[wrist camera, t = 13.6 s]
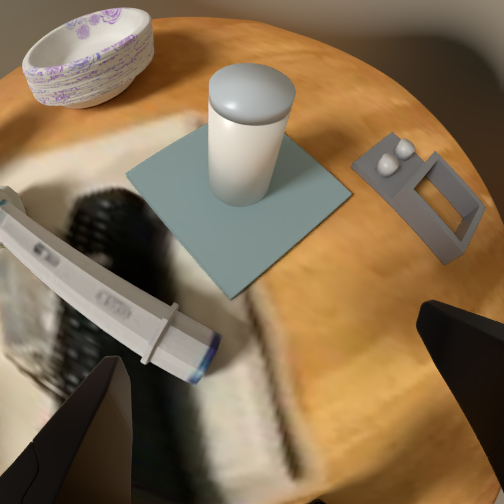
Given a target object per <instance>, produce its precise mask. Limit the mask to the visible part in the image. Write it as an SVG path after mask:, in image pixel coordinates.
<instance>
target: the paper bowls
mask: <svg viewBox="0 0 504 504" xmlns="http://www.w3.org/2000/svg"><path fill="white" fill-rule="evenodd" d="M153 55H154V42H153V30H152V19H151V17H150V15H148V13H147V12H145V11H143V10H140V9H135V8H114V9H108V10H103V11H98V12H95V13H91V14H88V15H85V16H82V17H79V18H76V19H74V20H72V21H70V22H68V23H66V24H63V25H62V26H60V27H58V28H56V29H55V30H53V31H51V32H50V33H48V34H47V35H46V36H44V37H43V38H42V39H41V40H39V41H38V42H37V43H36V44H35V45H34V46H33V47H32V48H31V49H30V50H29V51H28V53H27V54H26V56H25V58H24V60H23V64H22V68H23V73H24V74H25V76H26V79H27V82H28V85H29V87H30V89H31V91H32V93H33V95H34V97H35V98H36V100H37V101H38V102H40V103H42V104H44V105H48V106H64V107H67V108H72V109H81V108H87V107H92V106H95V105H98V104H101V103H103V102H106V101H108V100H110V99H112V98H113V97H115V96H117V95H118V94H120V93H121V92H122V91H124V90H125V89H126V88H127V87H128V86H129V85H130V84H131V83H132V81H133V80H134V78H135V77H136V76H137V75H138V74H139V73H140V72H142V71H143V70H144V69H145V68H146V67H147V66H148V65H149V63H150V62H151V60H152V58H153Z"/></svg>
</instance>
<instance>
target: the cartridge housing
mask: <svg viewBox="0 0 504 504" xmlns="http://www.w3.org/2000/svg"><path fill="white" fill-rule="evenodd" d="M414 151H415V147H414V145H413V143H412V142H411V141H409V140H407V139H400V138H399V137H397V136H396V135H395V134H394V133H393V132H391V133H390V134H389V135H388V136H386V137H385V138H384V139H383V140H381V141H380V142H379V143H378V144H376V145H375V146H374V147H372V148H371V149H370V150H369V151H367V152H366V153H365V154H364V155H362V156H361V157H360V158H359V159H357V160H356V161H355V162H354V163H353V164H352V166H351V168H352V169H353V170H354V171H355V172H356V173H357V174H358V175H359V176H361V177H362V178H363V179H364V180H365V181H366V182H367V183H368V184H369V185H370V186H371V187H372V188H373V189H374V190H375V191H376V192H377V193H378V194H379V195H380V196H381V197H382V198H383V199H384V200H385V201H386V202H387V203H388V204H389V205H390V206H391V207H392V208H393V209H394V210H395V211H396V212H397V213H398V214H399V215H400V216H401V217H402V218H403V219H404V220H405V221H406V223H407V224H408V225H409V226H410V227H411V228H412V229H413V230H414V231H415V232H416V233H417V234H418V236H419V237H420V238H421V239H422V240H423V241H424V242H425V243H426V245H427V246H428V247H429V248H430V249H431V250H432V251H433V253H434V254H435V255H436V256H437V257H438V259H439V260H440V261H441V262H442V263H443V265H446V264H448V263H449V262H451V261H453V260H454V259H456V258H458V257H459V256H461V255H463V254H464V252H465V250H466V248H467V246H468V244H469V242H470V240H471V238H472V236H473V234H474V232H475V230H476V228H477V226H478V224H479V222H480V220H481V217H482V215H483V213H484V211H485V208H486V207H485V205H484V204H483V203H482V202H481V200H480V199H479V198H478V197H477V196H476V194H475V193H474V192H473V191H472V190H471V189H470V187H469V186H468V185H467V184H466V183H465V182H464V181H463V180H462V178H461V177H460V176H459V175H458V174H457V173H456V172H455V171H454V170H453V169H452V168H451V167H450V166H449V164H448V163H447V162H446V161H445V160H444V159H443V158H442V157H441V156H440V155H439V154H438V153H437V152H436V151H435V152H434V153H433V154H432V155H431V156H430V157H429V159H428V160H427V161H426V162H424V161H423V160H422V159H421V158H420V157H419V156H418V155H417V154H416V153H415V152H414ZM424 176H426V177H427V178H428V179H429V180H430V181H431V183H432V184H433V185H434V186H435V187H436V188H437V189H438V190H439V191H440V192H441V193H442V194H443V195H444V196H445V198H446V199H447V200H448V201H449V202H450V203H451V204H452V205H453V207H454V208H455V209H456V210H457V211H458V212H459V213H460V215H461V216H462V217H463V220H462V222H461V223H460V225H459V227H458V229H457V231H456V232H455V234H454V233H453V232H452V231H451V230H450V228H449V227H448V226H447V225H446V224H445V223H444V221H443V220H442V219H441V218H440V217H439V216H438V215H437V214H436V212H435V211H434V210H433V209H432V208H431V207H430V206H429V205H428V204H427V203H426V202H425V200H424V199H423V198H422V197H421V196H420V195H419V194H418V193H417V192H416V191H415V190H414V188H415V187H416V185H417V184H418V183H419V182H420V181H421V179H422V178H423V177H424Z"/></svg>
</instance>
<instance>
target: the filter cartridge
mask: <svg viewBox="0 0 504 504" xmlns="http://www.w3.org/2000/svg"><path fill="white" fill-rule="evenodd" d="M294 98H295V87H294V85H293V83H292V82H291V80H290V79H289V78H288V77H287V76H286V75H284V74H283V73H281V72H280V71H278V70H276V69H274V68H271V67H268V66H265V65H260V64H253V63H240V64H233V65H229V66H226V67H224V68H222V69H220V70H218V71H217V72H216V73H215V74H214V75H213V76H212V77H211V79H210V82H209V116H208V174H209V187H210V190H211V192H212V193H213V195H214V196H215V197H216V198H217V199H218V200H220V201H221V202H223V203H225V204H227V205H231V206H235V207H245V206H250V205H253V204H255V203H257V202H259V201H260V200H261V199H262V198H263V197H264V196H265V195H266V193H267V191H268V188H269V184H270V181H271V177H272V174H273V170H274V167H275V163H276V160H277V156H278V153H279V150H280V146H281V143H282V139H283V136H284V132H285V129H286V125H287V122H288V118H289V115H290V111H291V108H292V105H293V101H294Z"/></svg>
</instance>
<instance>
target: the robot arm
mask: <svg viewBox="0 0 504 504" xmlns="http://www.w3.org/2000/svg"><path fill="white" fill-rule="evenodd" d="M416 328H417V331H418V333H419V335H420V337H421V338H422V340H423V342H424V344H425V346H426V348H427V350H428V352H429V354H430V356H431V358H432V360H433V362H434V364H435V366H436V367H437V369H438V371H439V372H440V374H441V375H442V377H443V379H444V380H445V382H446V384H447V385H448V387H449V389H450V390H451V392H452V394H453V395H454V397H455V399H456V400H457V402H458V404H459V406H460V407H461V409H462V411H463V413H464V414H465V416H466V418H467V420H468V421H469V423H470V425H471V427H472V429H473V431H474V432H475V434H476V436H477V438H478V440H479V442H480V444H481V446H482V448H483V450H484V452H485V454H486V456H487V457H488V460H489V462H490V464H491V466H492V468H493V470H494V472H495V475H496V477H497V479H498V481H499V483H500V486H501V488H502V490H503V492H504V324H503V323H500V322H497V321H494V320H491V319H488V318H486V317H483V316H480V315H477V314H474V313H471V312H468V311H465V310H462V309H460V308H457V307H454V306H451V305H448V304H445V303H442V302H439V301H436V300H429V301H426V302H423V303H422V305H421V307H420V311H419V315H418V318H417V322H416ZM131 452H132V415H131V386H130V379H129V376H128V374H127V371H126V369H125V366H124V364H123V362H122V359H121V358H120V357H119V356H107V357H104V358H103V359H102V360H101V362H100V363H99V364H98V365H97V366H96V367H95V368H94V369H93V370H92V372H91V373H90V374H89V375H88V376H87V377H86V378H85V379H84V381H83V382H82V383H81V384H80V385H79V386H78V387H77V389H76V390H75V391H74V392H73V393H72V394H71V395H70V397H69V398H68V399H67V400H66V401H65V402H64V403H63V405H62V406H61V407H60V408H59V409H58V410H57V412H56V413H55V414H54V415H53V416H52V417H51V419H50V420H49V421H48V422H47V423H46V424H45V426H44V427H43V428H42V429H41V430H40V432H39V433H38V434H37V435H36V436H35V438H34V439H33V442H30V443H29V445H28V446H27V447H26V448H25V449H24V451H23V452H22V453H21V454H20V455H19V456H18V458H17V459H16V460H15V461H14V462H13V463H12V465H11V466H10V467H9V468H8V469H7V470H6V471H5V472H4V473H3V474H2V475H1V476H0V504H131ZM310 504H326V503H325V502H324V501H322V500H320V499H316V500H314V501H312V502H311V503H310Z"/></svg>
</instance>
